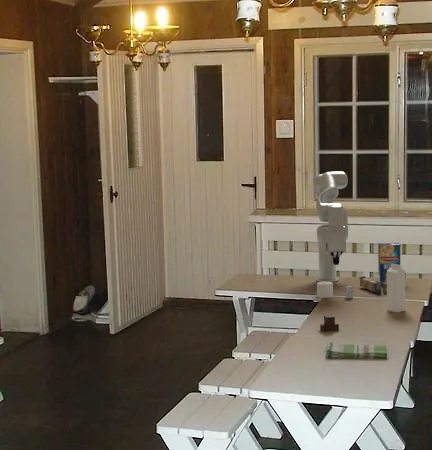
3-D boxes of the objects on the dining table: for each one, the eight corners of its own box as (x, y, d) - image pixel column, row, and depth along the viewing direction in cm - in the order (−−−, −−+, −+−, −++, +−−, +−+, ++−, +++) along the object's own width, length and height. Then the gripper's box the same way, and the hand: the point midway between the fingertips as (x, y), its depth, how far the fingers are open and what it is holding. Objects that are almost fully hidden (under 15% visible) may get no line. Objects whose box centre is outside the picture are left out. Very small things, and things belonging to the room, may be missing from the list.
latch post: (346, 297, 427) (346, 286, 426) (350, 297, 427) (350, 285, 427) (348, 298, 424) (348, 286, 424) (352, 298, 425) (352, 286, 424)
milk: (396, 312, 390) (396, 265, 388) (386, 310, 395) (386, 264, 392) (405, 310, 394) (405, 264, 391) (395, 308, 399) (395, 262, 396)
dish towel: (326, 347, 335) (326, 339, 334) (385, 348, 331) (385, 339, 331) (325, 359, 318) (325, 350, 318) (387, 360, 314) (387, 351, 314)
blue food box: (400, 284, 456) (400, 244, 454) (380, 285, 457) (379, 245, 454) (398, 282, 463) (398, 242, 460) (378, 282, 464) (378, 243, 461)
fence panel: (382, 292, 436) (382, 280, 435) (399, 291, 439) (399, 279, 438) (385, 293, 433) (385, 281, 433) (401, 292, 436) (401, 280, 435)
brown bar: (359, 286, 451) (359, 276, 451) (364, 285, 452) (364, 276, 452) (374, 291, 435) (374, 281, 434) (379, 291, 436) (379, 281, 435)
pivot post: (375, 293, 435) (375, 281, 434) (379, 293, 435) (379, 280, 435) (377, 294, 432) (377, 282, 432) (382, 294, 433) (381, 281, 432)
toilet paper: (327, 293, 440) (327, 280, 439) (335, 297, 429) (335, 283, 428) (312, 294, 438) (312, 281, 437) (320, 298, 427) (320, 285, 427)
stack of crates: (321, 338, 350) (321, 322, 349) (308, 330, 365) (308, 314, 364) (355, 335, 354) (354, 319, 353) (340, 327, 368) (340, 311, 368)
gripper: (345, 227, 438) (346, 262, 440) (319, 229, 433) (319, 264, 436) (352, 229, 430) (352, 264, 433) (325, 231, 426) (325, 266, 429)
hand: (336, 264), depth 434 cm, fingers closed
